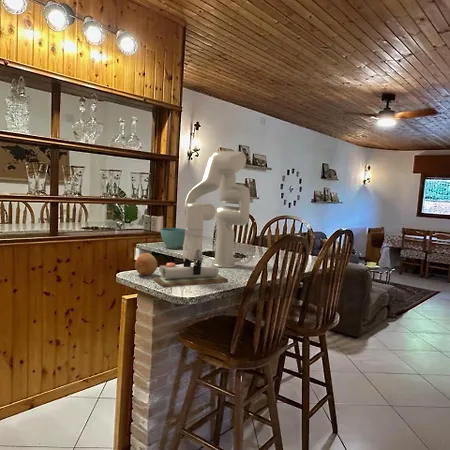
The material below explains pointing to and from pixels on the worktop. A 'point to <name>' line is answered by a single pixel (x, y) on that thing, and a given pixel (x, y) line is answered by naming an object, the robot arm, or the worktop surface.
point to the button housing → (163, 266)
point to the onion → (146, 264)
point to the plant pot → (173, 237)
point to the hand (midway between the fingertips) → (191, 272)
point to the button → (170, 265)
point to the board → (189, 281)
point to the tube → (188, 272)
